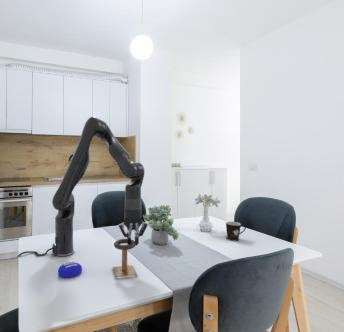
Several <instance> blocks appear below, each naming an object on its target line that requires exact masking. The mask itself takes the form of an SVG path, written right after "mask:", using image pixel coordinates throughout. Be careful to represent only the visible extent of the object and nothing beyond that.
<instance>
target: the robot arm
mask: <svg viewBox="0 0 344 332" xmlns="http://www.w3.org/2000/svg"><path fill="white" fill-rule="evenodd" d="M83 125H84V126H83V128H82V131H81V135H80V137H79V140H78V143H77V146H76V148H75V151H74V152H73V155H72V157H71V159H70V162H69V164H68V166H67V169H66V171H65V172H64V175H63V178H62V180H61V182H60V184H59V186H58V188H57V190H56V191H55V193H54V194H53V197H52V201H51V202H52V203H51V204H52V206H53V208H54V209H55V210H56V211H57V214H56V215H55V217H54V223H55V224H54V229H55V232H54V233H55V235H54V243H52V247H50V248H48V249H47V250H46V251H45V252H44V253H38V252H37V251H33V250H27V251H23V252H20V253H19V254H18V255H17V256H16V258H19V257H21V256H22V255H24V254H35V255H36V256H38V257H40V256H41V257H42V256H46V255H47V254H48V252H49V251H51V254H54V256H55V257H56V256H57V257H68V256H71V255H72V254H74V217H75V206H76V205H75V196H74V194H73V191H74V189H75V188H76V186H77V185H78V183H80V181H81V180H82V179H83V177H84V175H85V173H86V172H87V170H88V168H89V165H90V162H91V153H90V147H91V144H92V142H93V139H94V138H96V139H99V140H100V141H102V142H103V143H104V144H105V146H106V148H107V152H108V154H109V155H110V157H111V158H112V160H113V161H115V163H116V165H117V167H118V169H119V171H120V174H121V176H123V177H124V178H125V179H129V180H130V181H129V183H127V184H125V186H124V219H123V221H122V223H118V225H117V227H118V228H119V230H120V232H121V233H122V236H123V237H124V238H126V239H127V243H126V245H129V244H131V240H132V232H133V231H134V241H135V243H136V245H135V247H137V246H138V245H139V240H140V237H142V236H143V235H144V234H145V232H146V229H147V227H148V225H149V224H148V223H147V222H146V221H143V219H142V206H143V205H142V186H143V182H144V177H145V167H144V165H143V163H141V162H139V161H134V162H133V161H131V154H130V153H129V152H128V150H127V149H125V147H124V146H123V145H122V144H121V143H120V141H118V139H117V138H116V136H115V135H114V133H113V132H112V130H111V128H110V127H109V125H108V124H107V122H105V121H104V120H102V119H100V118H99V117H96V116H90V117H89V118H88V119H87V120H86V122H84V124H83ZM125 227H126V231H125V229H124V228H125ZM140 227H141V228H140ZM139 229H140V230H139Z"/></svg>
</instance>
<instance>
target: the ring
mask: <svg viewBox="0 0 344 332" xmlns="http://www.w3.org/2000/svg"><path fill="white" fill-rule="evenodd" d="M135 245H136V243H135V239H134V240H133V239H131V244H129V245H128V244H127V238H120V239H118V240H115V242H114V243H113V247H114V249H117V250H119V251H122V250H127V251H128V250H132V249H134V248H135V247H136V246H135Z"/></svg>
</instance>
